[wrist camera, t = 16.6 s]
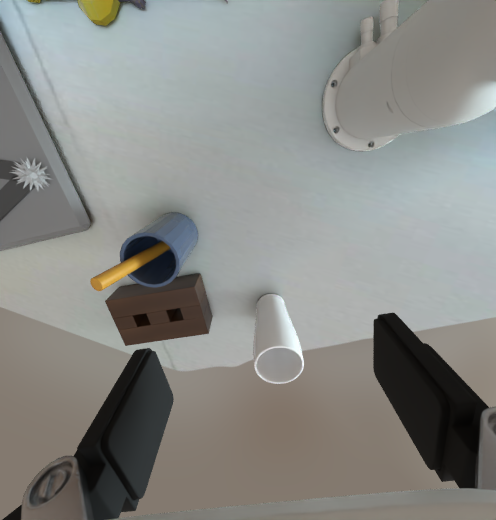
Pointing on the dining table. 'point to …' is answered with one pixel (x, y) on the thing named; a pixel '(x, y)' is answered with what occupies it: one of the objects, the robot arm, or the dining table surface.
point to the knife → (102, 9)
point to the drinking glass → (276, 342)
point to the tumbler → (170, 262)
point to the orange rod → (128, 266)
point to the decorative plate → (31, 169)
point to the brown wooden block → (161, 310)
